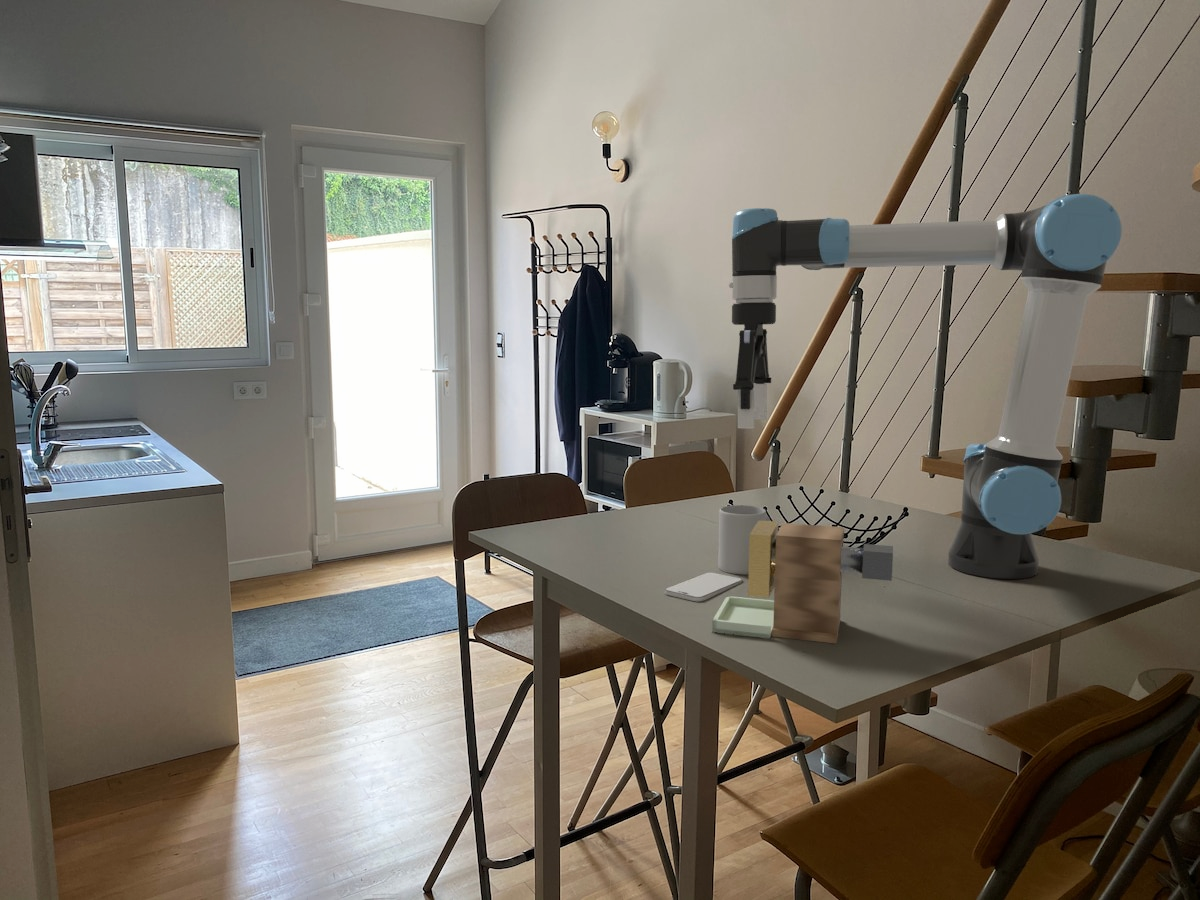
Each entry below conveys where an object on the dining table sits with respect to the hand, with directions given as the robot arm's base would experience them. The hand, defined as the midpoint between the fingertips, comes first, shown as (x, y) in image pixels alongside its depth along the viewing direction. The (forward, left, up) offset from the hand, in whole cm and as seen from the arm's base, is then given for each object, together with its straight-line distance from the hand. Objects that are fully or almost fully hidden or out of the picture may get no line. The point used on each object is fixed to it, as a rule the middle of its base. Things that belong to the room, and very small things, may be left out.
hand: (752, 423), depth 156 cm
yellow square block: (-6, +26, -21) cm, 35 cm away
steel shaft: (-14, +26, -18) cm, 35 cm away
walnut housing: (-13, +26, -27) cm, 40 cm away
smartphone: (+6, +11, -28) cm, 31 cm away
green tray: (-4, +26, -27) cm, 38 cm away
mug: (+1, -4, -27) cm, 28 cm away
